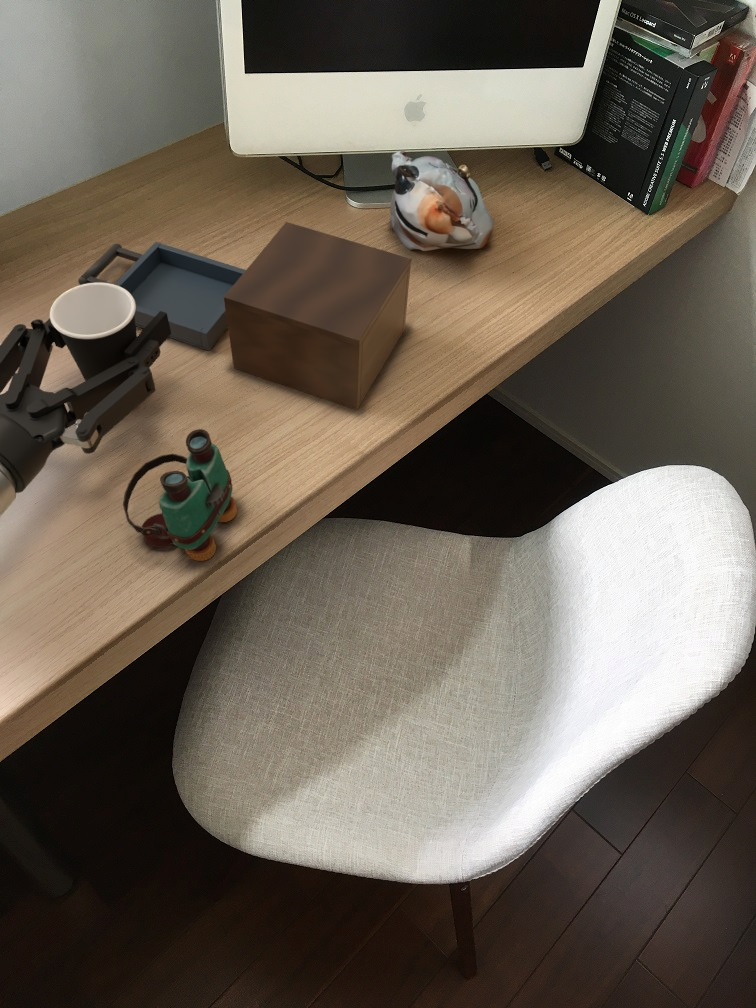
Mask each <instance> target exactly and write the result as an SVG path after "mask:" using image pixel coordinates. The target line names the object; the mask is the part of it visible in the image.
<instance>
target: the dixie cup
mask: <svg viewBox="0 0 756 1008" xmlns="http://www.w3.org/2000/svg"><path fill="white" fill-rule="evenodd" d="M114 284H115V283H113V284H109V283H88V284H83V285H80V284H79V285H76V286H74V287H72V288H70V289H68V290H66V291H64V292H62V294H60V295H59V296H58V297H57V298H56V299H54V301H53V303H52V305H51V307H50V309H49V318H50V320H51V323H52V324H53V326H54V327H55V328H56V329H57V330H58V331H59V332H60V334H61V336H62V338H63V340H64V341H65V343H66V345H65V346H66V347H67V349H68V351H69V353H70V355H71V357H72V358H73V361H74V363H75V364H76V366H77V368H78V369H79V371H80V373H81V375H82V377H83V379H84V382H85V381H87V380H88V379H90V378H92V377H94V376H96V375H98V374H100V373H101V372H103V371H105V370H107V369H109V368H111V367H112V366H114V365H116V364H118V363H120V362H122V361H124V360H125V359H126V358H125V355H124V351H125V350H126V348H127V347H128V346H129V345H130V344H131V343H132V342H133V341H134V340H135V338H136V337H137V336H138V333H137V326H136V325H135V317H134V314H135V310H136V304H135V300H134V298H133V297H132V295H131V294H130V293H129V292H128V291H127V290H125V289H124V288H122V287H120V286H117V285H114Z"/></svg>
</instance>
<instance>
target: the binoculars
mask: <svg viewBox="0 0 756 1008" xmlns="http://www.w3.org/2000/svg"><path fill="white" fill-rule="evenodd" d="M211 439H212V438H211V436H210V433H209V432H208V431H207V430H205V429H203V428H197V429H194V430H192V431H191V432H189V433H188V435H187V436H186V439H185V446H186V448H187V450H188V452H189V455H188V456H187V457H186V456H183V455H180V454H176V453H168V454H162V455H160V456H157V457H155V458H153V459H150V460H149V461H147V462H145V463H144V464H142V466H141V467H140V468H138V469H137V470H136V471H135V472H134V474H133V475H132V477H131V479H130V480H129V482H128V484H127V487H126V489H125V492H124V495H123V501H122V507H123V511H124V514H125V518H126V520H127V522H128V524H129V525H130V526H131V527H132V528H133V529H134V530H135V531H136V533H139V534H141V535H142V536H143V538H144V541H145V543H146V544H147V545H149V546H150V547H154V548H155V547H157V548H158V547H160V548H161V547H168V546H170V545H174V546H176V547H178V548H180V549H183V550H184V551H185V554H186V555H187V556H188V557H189V558H190V559H192V560H194V561H198V562H203V561H207V560H209V559H211V558H212V557H213V556H214V554H215V553H216V550H217V545H216V542H215V539H214V536H213V535H212V533H213V531H214V529H215V528H216V526H217V524H218V522H219V523H227V522H230V521H231V520H234V518H235V517H236V516H237V513H238V508H237V504H236V501H235V498H234V497H233V496H232V494H233V489H234V487H233V483H232V477H231V474H230V471H229V470H228V469H227V467H226V464H225V462H224V459H223V457H222V454H221V452H220V449H219V447H218V446H217V444H215V443H213V442H212V440H211ZM173 462H177V463H181V464H185V466H186V471H187V474H188V475H187V474H186V473H185V472H183V471H180V470H170V471H167V472H165V473H163V474H162V475H160V476H159V477H160V478H159V482H160V484H161V486H162V488H163V490H164V492H163V493H162V494H161V496H160V498H159V500H158V501H159V502H158V503H159V507H160V511H161V513H157V514H154V515H151V516H150V517H148V518H147V519H146V520H145V521H144V522H143V523H142V525H137V524H135V523H134V522H133V520H131V519H130V516H129V512H128V509H129V503H130V499H131V496H132V494H133V491H134V489H135V488H136V486H137V484H138V483H139V481H140V480H141V479H142V478H143V477H144V476H145V475H146V474H147V473H148V472H149V471H151V470H153V469H155V468H157V467H159V466H161V465H164V464H167V463H173Z"/></svg>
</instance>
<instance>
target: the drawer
mask: <svg viewBox="0 0 756 1008" xmlns="http://www.w3.org/2000/svg"><path fill="white" fill-rule="evenodd" d="M117 257H119V258H123V259H125V260H129V261H132V262H134V263H133V264H132V265H131V267H129V268H128V269H127V270H126V271H125V272H124V273H123V275H122V276H121V277H120V278H119V279H118V280H117V281H115V283H113V282H110V281H107V280H104V279H101V278H98V276H99V275H100V274H101V273H102V272H103V271H105V269H106V268H107V267H109V265H110V264H112V262H113V261H114V260H116V258H117ZM246 270H247V269H244V268H242V267H238V266H234V265H232V264H228V263H225V262H222V261H219V260H216V259H213V258H209V257H206V256H202V255H200V254H197V253H193V252H190V251H187V250H183V249H181V248H177V247H174V246H171V245H167V244H164V243H161V242H158V241H155V242H154V243H153V244H152V245H151V246H150V247H149V248H148V249H147V250H146V251H145V252H144V253H139V252H136V251H133V250H129V249H127V248H123V246H122V245H121V244H120V243H114V244H112V245H111V246H110V247H109V248H108V249H107V250H106V251H105V252H104V253H103V254H102V255H101V256H100V257H99V258H98V259H97V260H96V261H95V262H93V264H92V265H90V266H89V268H88V269H87V270H85V272H84V273H83V274H81V275H80V277H79V278H78V281H77V283H78V284H79V285H83V284H88V283H109V284H114V285H117V286H120V287H122V288H124V289H125V290H127V291H128V292H129V293H130V294H131V295H132V297H133V298H134V300H135V304H136V310H135V314H134V317H135V325H136V328H137V327H138V328H141V329H142V330H144V328H145V327H146V326H147V325H148V324H149V323H150V322H151V321H152V319H153V318H154V317H155V316H156V315H157V314H158V313H159V312H160V311H162V312H165V313H167V316H168V321H169V325H170V330H171V335H170V336H169V337H168V338H170V339H173V340H176V341H178V342H182V343H185V344H188V345H191V346H194V347H197V348H200V349H202V350H205V351H210V350H211V349H212V348H213V347H214V346H215V344H216V343H217V342H218V340H219V339H220V338H221V337H222V336H223V334H224V333H225V332H226V331H227V330H228V324H227V317H226V310H225V303H224V296H225V295H226V294H227V292H228V291H229V290H230V289H231V288H232V286H233V285H234V284H235V283H236V282H237V280H238V279H239V278H240V277H241V276H242V274H243V273H244V272H245V271H246Z"/></svg>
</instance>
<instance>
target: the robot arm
mask: <svg viewBox="0 0 756 1008" xmlns="http://www.w3.org/2000/svg"><path fill="white" fill-rule="evenodd" d="M30 325H31V328H27V326H26V324H22V323H19V324H16V325H14V327H13V328H12V329H11V330H10V332H9V333H8V334H7V335H6V337H5V338H4V340H3V341H2V342H1V343H0V517H2V516H3V514H4V513H5V512H6V511H7V510H8V509H9V507H10V506H11V505H12V504H13V503H14V502H15V500H16V498H17V495H16V494H19V493H22V492H24V491H25V490H26V488H27V487H28V486H29V485H30V484H31V483H32V482H33V480H34V479H35V478H36V477H37V476H38V475H39V474H40V473H41V471H42V470H43V469H44V467H45V466H46V463H47V461H48V458H49V456H50V454H52V453H53V452H55V450H57V449H59V448H61V447H63V446H64V445H66V444H67V445H73V446H78V447H81V450H82V453H84V454H87V455H89V454H93V453H95V451H96V450H97V449H98V447H99V445H100V443H101V441H102V440H103V438H104V436H106V435H107V433H109V432H110V431H111V430H113V428H115V427H116V426H117V425H118V424H119V423H120V422H121V421H122V420H124V419H125V418H126V417H127V416H129V414H130V413H132V412H133V411H134V410H135V409H137V407H139V406H140V405H141V404H142V403H143V402H144V401H146V399H148V398H149V397H150V396H151V395H152V394H154V393H155V391H156V390H157V389H156V385H155V381H154V378H153V373H152V370H151V367H152V366H153V365H154V363H155V362H156V361H157V360H158V359H159V357H160V356H161V347H162V345H163V344H164V343H165V342H166V341H167V339H168V338H170V337H169V336H170V335H171V330H170V325H169V321H168V316H167V313H165V312H162V311H160V312H159V313H158V314H157V315H156V316H155V317H154V318H153V319H152V321H151V322H150V323H149V324H148V325H147V326H146V327H145V328H144V329H142V330H141V331H140V333H139V334H137V337H136V338H135V340H134V341H133V342H132V343H131V344H130V345H129V346H128V347H127V348H126V350H125V351H124V355H125V358H126V359H125V360H124V361H122V362H120V363H118V364H116V365H114V366H112V367H111V368H109V369H107V370H105V371H103V372H101V373H100V374H98V375H96V376H94V377H92V378H90V379H88V380H87V381H85V380H84V381H83V382H81V383H79V384H78V385H76V386H74V387H72V388H70V387H63V388H61V389H59V390H58V391H56V392H52V391H44V390H43V389H41V385H42V381H43V379H44V376H45V372H46V370H47V367H48V364H49V362H50V361H49V360H50V357H51V354H52V352H53V348H54V346H53V344H54V345H55V347H57V348H59V349H64V347H65V346H67V345H66V343H65V341H64V340H63V338H62V336H61V334H60V332H59V331H58V330H57V329H56V328H55V327H54V326H53V324H52V323H51V320H50V317H49V318H48V319H47V320H45V322H44V321H43V320H42V319H39V318H38V319H37V318H36V319H34V320H33V319H32V321H31V322H30ZM9 382H10V383H9ZM8 384H9V386H8V389H7V390H6V391H5V392H4V393H2V392H3V391H4V389H5V388H6V386H7V385H8ZM67 407H68V409H67Z"/></svg>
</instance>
